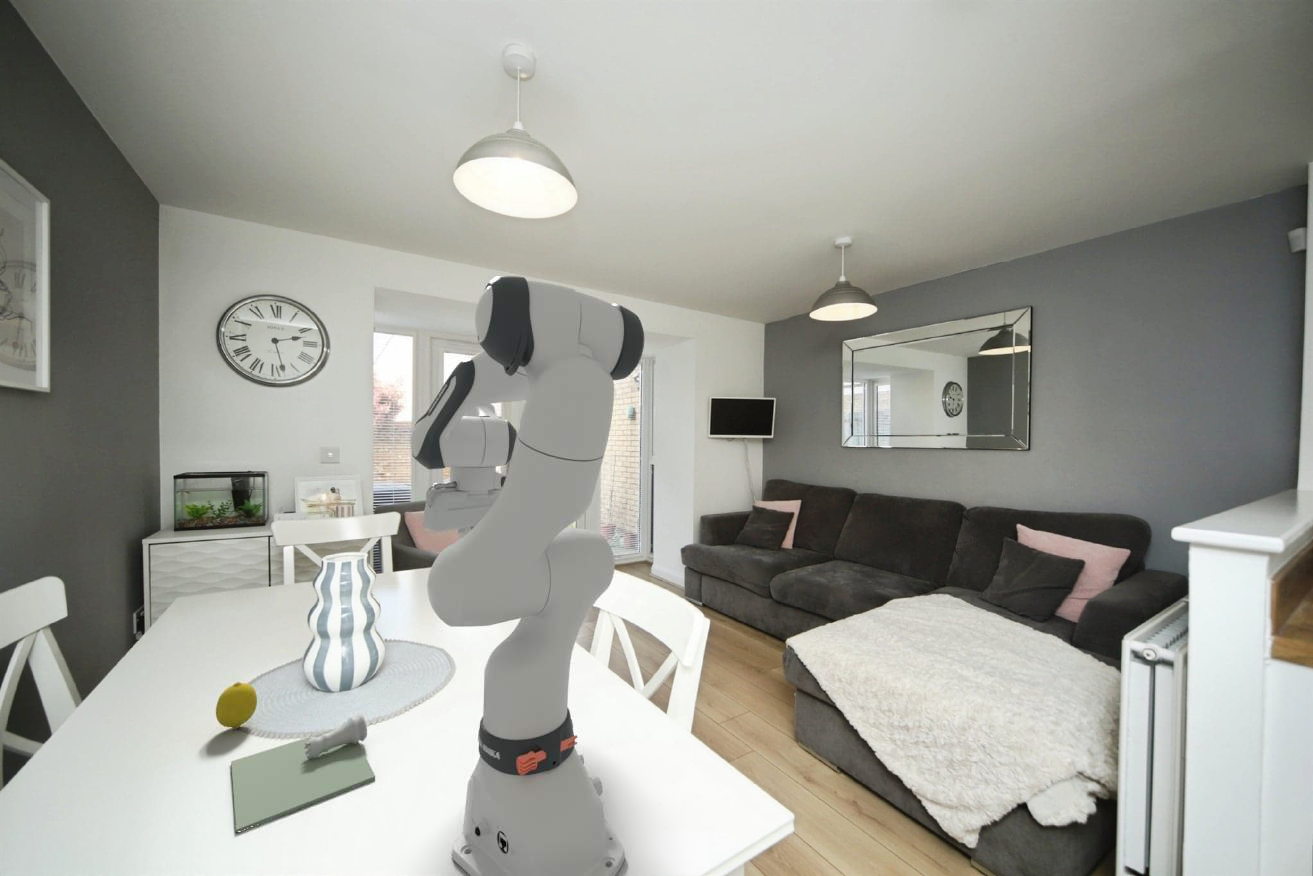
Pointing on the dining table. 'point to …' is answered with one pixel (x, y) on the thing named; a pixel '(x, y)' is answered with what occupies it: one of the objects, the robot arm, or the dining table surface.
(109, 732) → the dining table surface
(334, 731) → the rook chess piece
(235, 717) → the lemon
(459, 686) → the dining table surface
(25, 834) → the dining table surface
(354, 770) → the grayish green thin book
